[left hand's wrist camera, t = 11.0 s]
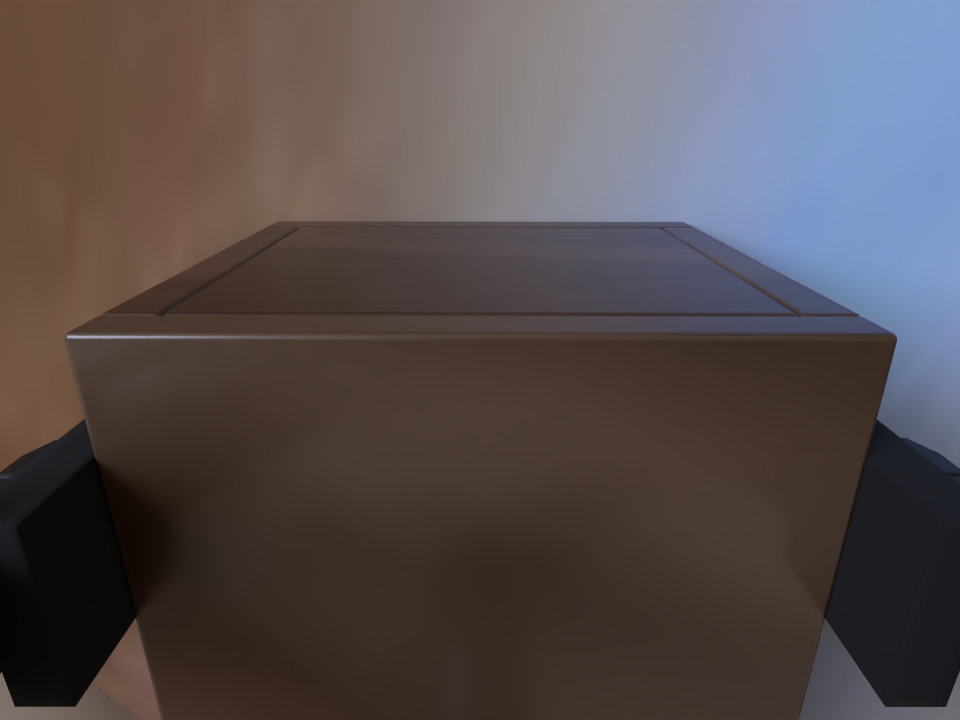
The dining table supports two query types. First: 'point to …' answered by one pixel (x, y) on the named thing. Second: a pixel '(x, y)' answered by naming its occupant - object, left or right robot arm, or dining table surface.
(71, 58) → the dining table surface
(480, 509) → the cabinet
